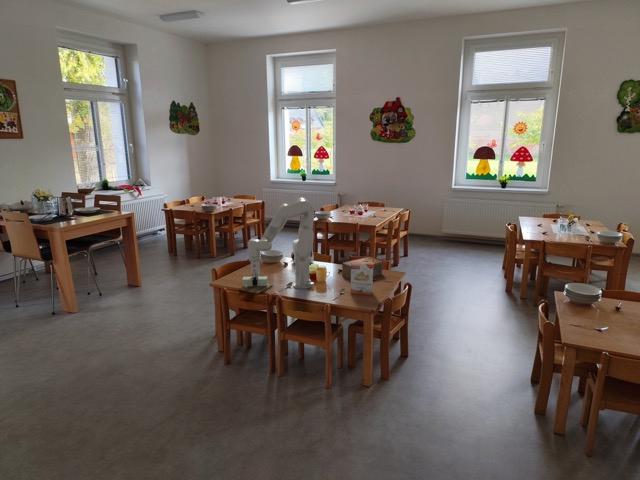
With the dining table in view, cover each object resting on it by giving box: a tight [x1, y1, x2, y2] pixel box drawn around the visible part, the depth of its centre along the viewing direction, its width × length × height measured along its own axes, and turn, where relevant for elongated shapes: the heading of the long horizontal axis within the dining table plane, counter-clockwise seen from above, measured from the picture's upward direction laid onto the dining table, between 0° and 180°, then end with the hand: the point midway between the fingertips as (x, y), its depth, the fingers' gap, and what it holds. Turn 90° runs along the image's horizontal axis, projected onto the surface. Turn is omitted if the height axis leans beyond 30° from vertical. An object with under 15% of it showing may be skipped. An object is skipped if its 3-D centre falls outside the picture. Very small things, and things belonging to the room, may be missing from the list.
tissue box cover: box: [341, 256, 383, 280], centre depth 308 cm, size 26×14×10 cm, turn 125°
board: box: [238, 283, 273, 295], centre depth 282 cm, size 16×16×6 cm
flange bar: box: [242, 275, 268, 286], centre depth 282 cm, size 16×5×4 cm, turn 95°
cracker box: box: [349, 260, 374, 296], centre depth 272 cm, size 14×6×21 cm, turn 80°
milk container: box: [291, 238, 315, 265], centre depth 334 cm, size 17×17×18 cm
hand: (255, 283), depth 282 cm, fingers closed on flange bar, 5 cm apart
